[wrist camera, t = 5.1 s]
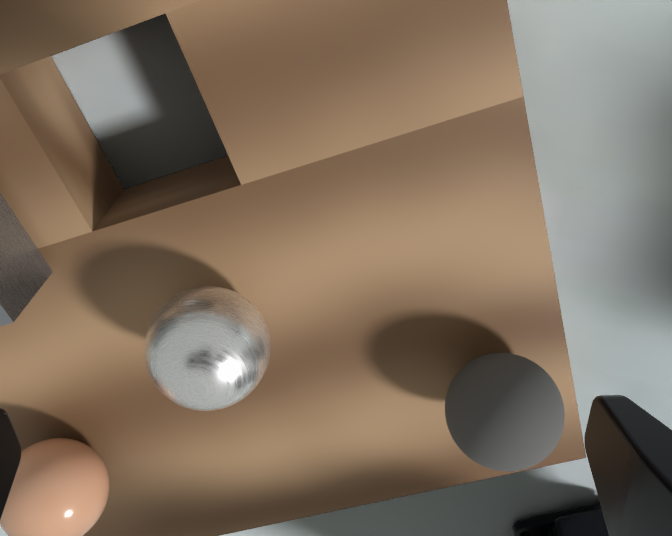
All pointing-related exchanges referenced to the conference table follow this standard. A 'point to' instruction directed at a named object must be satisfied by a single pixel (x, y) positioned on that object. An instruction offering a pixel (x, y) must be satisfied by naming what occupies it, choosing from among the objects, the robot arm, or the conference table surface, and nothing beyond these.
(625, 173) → the conference table surface
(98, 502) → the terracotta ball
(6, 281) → the brushed grey metal box
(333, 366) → the walnut deck
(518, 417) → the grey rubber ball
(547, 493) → the conference table surface
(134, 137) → the conference table surface
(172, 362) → the steel ball
